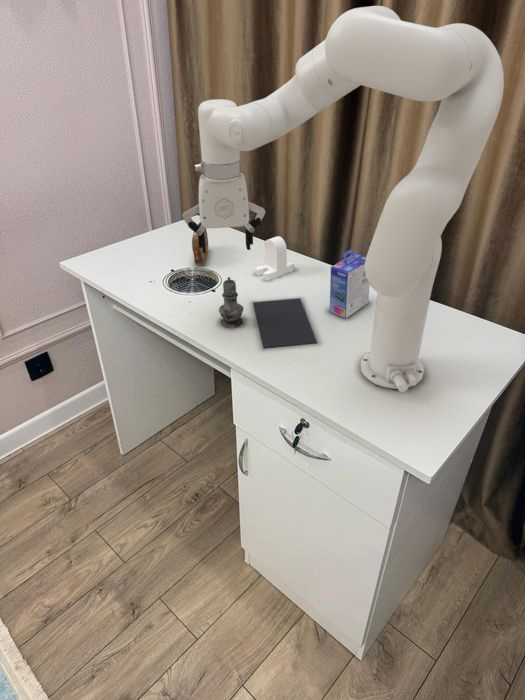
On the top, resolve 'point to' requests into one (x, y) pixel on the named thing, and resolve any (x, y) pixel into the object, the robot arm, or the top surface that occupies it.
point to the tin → (199, 249)
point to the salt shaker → (230, 306)
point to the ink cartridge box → (348, 285)
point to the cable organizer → (275, 259)
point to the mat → (283, 323)
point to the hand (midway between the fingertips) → (226, 248)
